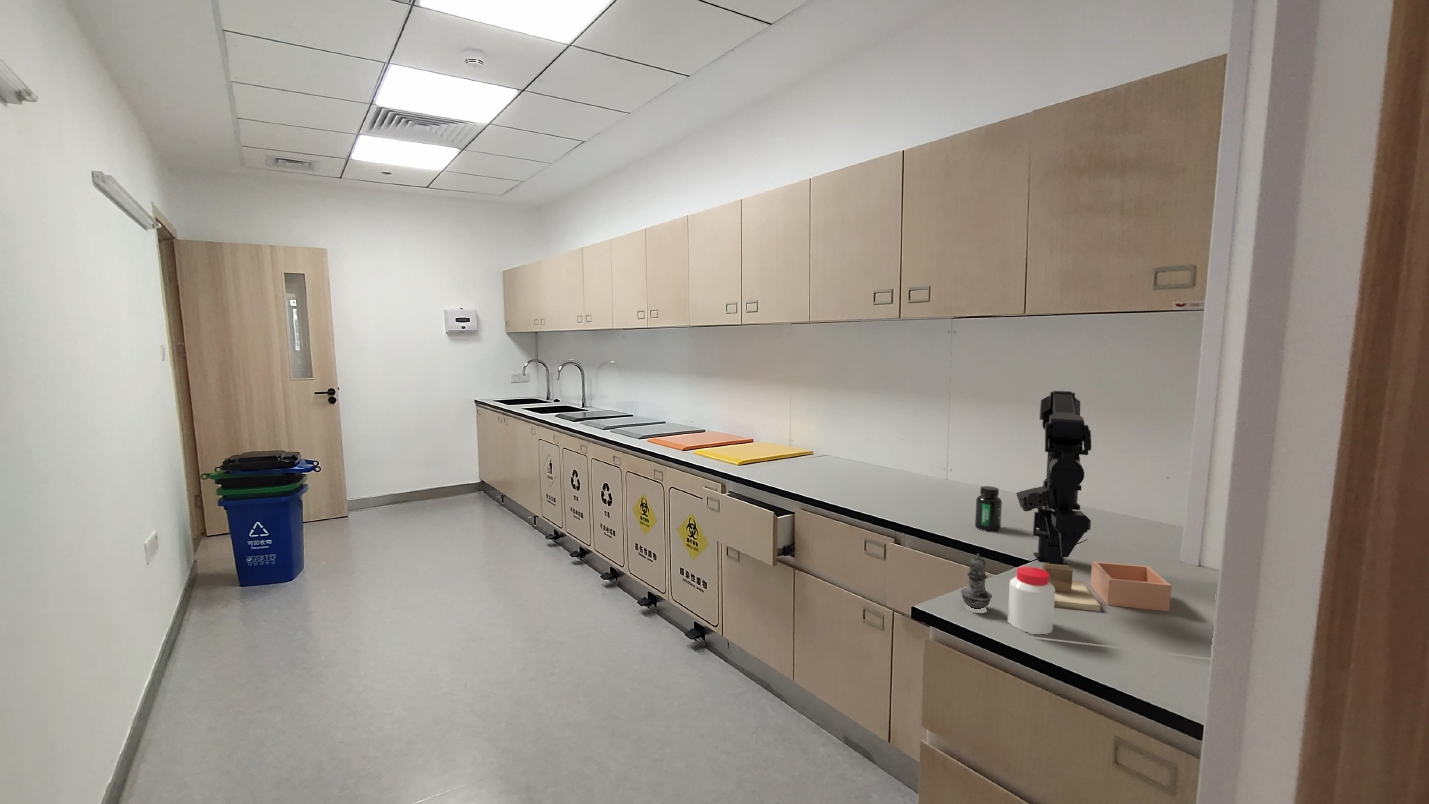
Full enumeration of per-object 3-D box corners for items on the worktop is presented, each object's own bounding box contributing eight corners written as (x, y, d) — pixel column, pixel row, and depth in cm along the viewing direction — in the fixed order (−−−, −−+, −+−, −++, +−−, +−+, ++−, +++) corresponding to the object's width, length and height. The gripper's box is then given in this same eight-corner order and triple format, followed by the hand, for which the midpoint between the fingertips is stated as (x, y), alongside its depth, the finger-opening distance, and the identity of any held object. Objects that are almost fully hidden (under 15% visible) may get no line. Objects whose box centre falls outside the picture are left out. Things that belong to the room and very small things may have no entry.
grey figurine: (965, 601, 129) (967, 546, 128) (994, 609, 126) (997, 552, 124) (955, 611, 125) (958, 553, 123) (986, 619, 121) (989, 560, 120)
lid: (1016, 580, 140) (1017, 553, 139) (1080, 586, 136) (1082, 559, 136) (1029, 603, 127) (1030, 574, 127) (1100, 611, 124) (1102, 581, 123)
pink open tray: (1090, 587, 138) (1092, 561, 137) (1146, 592, 135) (1148, 566, 134) (1107, 607, 127) (1109, 579, 127) (1168, 614, 124) (1171, 585, 124)
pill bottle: (1038, 617, 122) (1041, 564, 121) (1061, 636, 114) (1065, 579, 113) (999, 618, 122) (1002, 564, 121) (1020, 637, 114) (1023, 579, 113)
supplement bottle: (987, 533, 175) (989, 491, 174) (969, 526, 182) (971, 486, 180) (1005, 530, 178) (1008, 489, 177) (987, 523, 184) (989, 484, 183)
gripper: (1012, 466, 140) (1008, 533, 142) (1030, 485, 123) (1026, 561, 124) (1066, 469, 137) (1062, 537, 139) (1094, 489, 120) (1088, 566, 121)
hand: (1058, 549), depth 131 cm, fingers open, 9 cm apart
